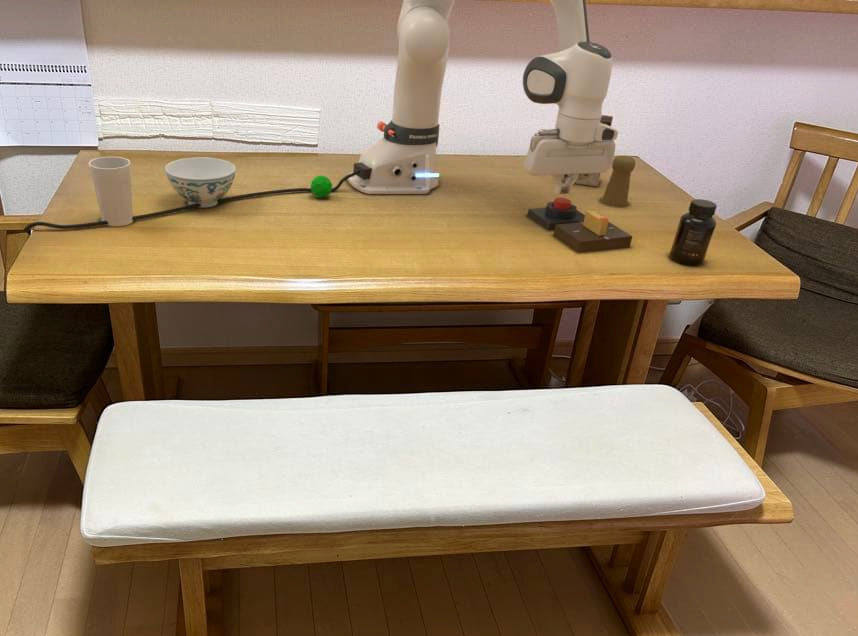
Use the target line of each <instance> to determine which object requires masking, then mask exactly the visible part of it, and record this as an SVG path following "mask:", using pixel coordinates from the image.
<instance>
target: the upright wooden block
mask: <svg viewBox="0 0 858 636" xmlns="http://www.w3.org/2000/svg"><path fill="white" fill-rule="evenodd" d="M584 215H585V217H584V222H583V226H585V227H586V228H588V229H589V230H591V231H592V232H594V233H596V234H597V235H599V236H601V235H605V234H606V230H607V226H608V222H610V221H609V219H608V218H607V217H604V216H603V215H601V214H599V213H598V212H595V211H594V210H586V211H585V213H584Z"/></svg>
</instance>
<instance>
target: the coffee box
mask: <svg viewBox="0 0 858 636" xmlns="http://www.w3.org/2000/svg"><path fill="white" fill-rule="evenodd" d="M613 120H614V116H613V115H612V116H611V115H605V114H602V116H601V120H600V121H601V122H603V123H605V124H606V125H608V126H610V127H612V123H613ZM601 174H602V173H586V174H579V176H578V179H577V180H576V182H575V183H574V184H576V185H584V186H589V187H598V186H599V182H600V179H601ZM568 178H569V176H568V174H565V175H564V179H561V181H562V183H565V182H566V181H567V179H568Z"/></svg>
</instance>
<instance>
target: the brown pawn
mask: <svg viewBox="0 0 858 636" xmlns="http://www.w3.org/2000/svg"><path fill="white" fill-rule="evenodd" d="M635 167H636V160H635V158H633V157H631V156H628V155H617V156H614V158H613V162H612V166H611V168H612V173H611V175H610V178H609V180H608V182H607V184H606V188H605V191H604V193H603V196H602V199H601V202H602V203H603V204H605V205H607V206H611V207H617V208H623V207H626V206H627V205H628V200H629V199H628V198H629V191H630V184H631V183H630V182H631V175H632V172H633V171H634V170H635Z"/></svg>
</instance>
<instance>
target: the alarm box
mask: <svg viewBox="0 0 858 636" xmlns="http://www.w3.org/2000/svg"><path fill="white" fill-rule="evenodd" d="M553 205H554V201H548V202H547V203H546V206H545V207H536V208H535V207H534V208H528V209H527V216H526V217H528V218H530V219H531V220H533V222H535V223H536V224H538V225H540V226H541V227H543V228H544V229H545V230H547V231H554V230H555V225H558V224H569V223H579V221H582V222H584V217H585V213H582V212H581V211H579V210H578V208H577V206H576V205H574V204H573V203H571V204H570V209H569V210H562V209H557V208H554V207H553Z"/></svg>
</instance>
